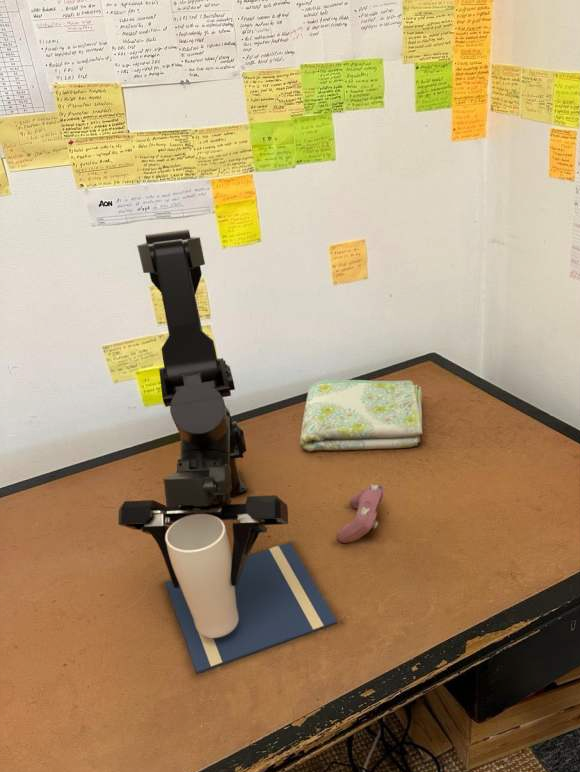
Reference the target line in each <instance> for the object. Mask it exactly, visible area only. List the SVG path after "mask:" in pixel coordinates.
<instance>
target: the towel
mask: <svg viewBox="0 0 580 772" xmlns="http://www.w3.org/2000/svg"><path fill="white" fill-rule="evenodd" d="M422 397H423V387H422V386H419V385H418V384H414V382H413V380H409V379H408V380H407V379H405V380H368V379H324V380H318V381H316V382H314V383H311V384H310V385H309V388H308V390H307V396H306V400H305V406H304V411H303V417H302V423H301V430H300V438H299V445H300V447H301V448H303V450H306V451H308V452H315V451H356V450H357V451H359V450H361V451H363V450H365V451H366V450H386V449H387V450H388V449H389V450H390V449H406V448H414V447H418V444H420V443H421V436H423V409H422V408H423V407H422V399H423V398H422Z"/></svg>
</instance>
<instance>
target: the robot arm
mask: <svg viewBox="0 0 580 772" xmlns="http://www.w3.org/2000/svg"><path fill="white" fill-rule="evenodd" d="M136 247H137V251H138V255H139V260H140V264H141V269H142V273H144V274H149V277H150V281H151V283H152V284H153V285H154V287H156V289H157V290H158V291H159V292H160V294H161V298H162V299H161V300H162V304H163V308H164V314H165V320H166V326H167V333H168V336H167V338H166V339H165V342H164V343H163V344H162V347H161V356H162V362H163V367H159V369H158V372H159V379H160V388H161V397H162V401H163V404H164V407H165V408H168V407H169V411H170V415H171V418H172V421H173V424H174V425H175V427H176V429H177V431H178V434H179V435H180V458H178V459H177V463H176V472H173V473H172V474H171V473H170V474H169V475H168V476H166V477H164V478H163V485H164V494H165V495H164V496H165V504H166V505H165V504H163V503H161V502H159V501H156V500H154V499H147V500H124V501H123V503H122V504H121V505H120V506H119V509H118V525H119V526H121V527H124V528H128V529H131V530H134V531H141V532H142V533H145V534H148V535H151V537H152V538H153V539H154V540H155V542H156V544H157V546H158V548H159V550H160V552H161V554H162V556H163V560H164V561H165V565H166V568H167V571H168V573H169V577H170V581H171V580H172V583H173V586H174V588H180V585H179V583H178V580H177V578H176V575H175V573H174V570H173V567H172V564H171V561H170V558H169V554H168V550H167V545H166V541H165V535H166V532H167V530H168V528H169V527H170V526H171V525H172V524H173V523H174V522H176V521H177V520H179V519H181V518H183V517H186V516H189V515H193V514H210V515H214V516H216V517H218V518H219V519H221V520H222V521H238V522H232V523H231V525H232V535H233V542H232V543H233V545H232V553H231V554H232V568H231V584H232V586H237V584H238V581H239V579H240V576H241V573H242V571H243V568H244V565H245V563H246V560H247V557H248V556H249V555H250V553H251V550H252V549H253V546H254V545H255V543H256V541H257V539H258V537H259V535H260V534H261V533H267V532H268V527H267V526H277V525H278V526H280V525H288V524H289V509H288V505H287V503H286V502H284V501H283V500H282V498H280V496H278V495H276V494H275V495H273V494H272V495H270V494H269V495H248V496H246V500H245V503H232V499H231V498H232V497H235V496H238V495H242V494H245V493H247V491H248V489H247V487H246V485H245V483H244V482H243V480H242V478H241V476H240V474H239V472H238V467H237V461H236V459H243V458H244V454H245V453H246V452H247V446H246V440H245V433H244V429H243V428H241V427H240V426H239V425H238V422H237V421H232V417H231V412H230V410H229V408H228V407H227V406H226V404H225V400H224V398H227V397H231V396H232V393H231V391H236V388H235V383H234V378H233V374H232V369H231V366H230V365H228V364H227V363H226V360H225V359H224V357H220V358H218V356H217V352H216V351H217V350H216V346H215V342H214V340H213V338H211V337H210V336H209V335H208V334H207V333H206V332H204V331H203V327H202V322H201V318H200V311H199V308H198V307H199V306H198V302H197V298H196V295H197V290H198V286H199V285H200V283H201V279H202V274H203V273H202V269H201V266H204V265H206V261H205V257H204V251H203V247H202V242H201V237H200V236H192V237H191V233H190V229H189V228H186V229H178V230H171V231H164V232H155V233H147V234H145V242H144V243H138V244H137V245H136Z"/></svg>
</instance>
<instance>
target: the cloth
mask: <svg viewBox="0 0 580 772" xmlns="http://www.w3.org/2000/svg"><path fill="white" fill-rule="evenodd" d="M165 586H166V589H167V592H168V594H169V598H170V600H171V604H172V606H173V609H174V612H175V615H176V618H177V620H178V623H179V626H180V630H181V632H182V636H183V638H184V641H185V644H186V647H187V650H188V653H189V655H190V656H189V657H190V659H191V661H192V664H193V667H194V670H195V674H196V675H199V674H202V673H204V672H207V671H210V670H212V669H215V668H218V667H221V666H223V665H226V664H229V663H232V662H234V661H237V660H240V659H242V658H245V657H248V656H251V655H254V654H256V653H259V652H262V651H265V650H267V649H270V648H273V647H276V646H279V645H281V644H285V643H287V642H289V641H292V640H295V639H298V638H301V637H303V636H306V635H309V634H312V633H314V632H318V631H320V630H323V629H325V628H328V627H331V626H335V625H336V624H338V620H337V619H336V617H335V615H334V613H333V612H332V610H331V608H330V606H329V605H328V603H327V602H326V600H325V598H324V597H323V595H322V593H321V592H320V590H319V588H318V586H317V584H316V583H315V581H314V579H313V578H312V577H311V574H310V573H309V572H308V570H307V568H306V566H305V565H304V563H303V561H302V560H301V557H300V556H299V555H298V553H297V551H296V549H295V548H294V546H293V544H292V543H291V542H287V543H284V544H280V545H276V546H273V547H269V548H268V549H265V550H262V551H259V552H256V553H252V554H249V555H248V557H247V560H246V563H245V565H244V568H243V571H242V573H241V576H240V579H239V581H238V584H237V586H235V594H236V604H237V610H238V614H239V621H238V624H237V626H236V628H235V629H234V630H233V631H232V632H231V633H229V634H227V635H225V636H223V637H219V638H208V637H205V636H203V635H201V634H200V633H199V632H198V631H197V629H196V627H195V624H194V620H193V617H192V614H191V612H190V609H189V607H188V604H187V602H186V600H185V597H184V595H183V592H182V590H181V587H180V588H174V586H173V583H172V580H171V579H170V580H168V581H165Z"/></svg>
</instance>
